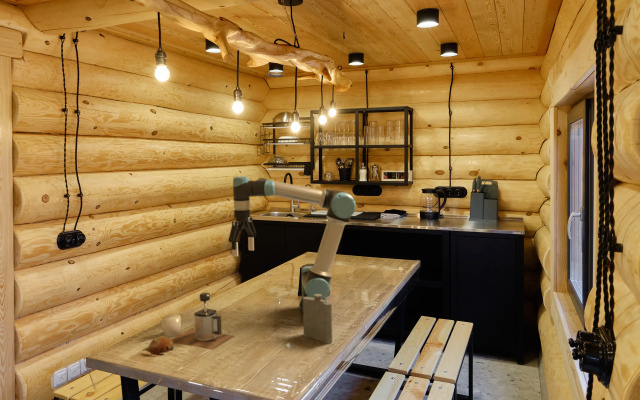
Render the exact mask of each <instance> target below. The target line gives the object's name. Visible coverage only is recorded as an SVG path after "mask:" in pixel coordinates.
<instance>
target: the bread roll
mask: <svg viewBox="0 0 640 400" xmlns="http://www.w3.org/2000/svg"><path fill="white" fill-rule="evenodd" d="M174 343H175V342H173V341H172V340H171V337H166V336H163V335H160V336H158V337H156V338H154V339H152V340H151V342H150V344H149V346H148V351H149V353H150V354H151V355H152V354H153V356H165V353H168V352H170V351H173V348H175V344H174Z"/></svg>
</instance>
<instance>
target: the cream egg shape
mask: <svg viewBox="0 0 640 400" xmlns="http://www.w3.org/2000/svg"><path fill="white" fill-rule="evenodd" d="M160 321H161V322H160V324H161V325H160V327H161V331H162V336H166V337H169V338H175V337H177V336H179V335H181V334H182V318H181V315H180V314H166V315H164V316H163V317H162V319H161V320H160Z"/></svg>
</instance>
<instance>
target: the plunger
mask: <svg viewBox="0 0 640 400" xmlns="http://www.w3.org/2000/svg"><path fill="white" fill-rule="evenodd" d="M210 300H211V295H210V293H209V292H201V293H200V294H199V301H201V302H203V309H204V313H207V309H208V308H207V302H208V301H210Z"/></svg>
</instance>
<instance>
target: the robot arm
mask: <svg viewBox="0 0 640 400" xmlns="http://www.w3.org/2000/svg"><path fill="white" fill-rule="evenodd" d="M232 193H233V194H232V195H233V197H232V198H233V209H234V210H233V217H234V218H235V219H236V220H235V221H233V220H232V221H231V228H230V232H229V235H228V236H229V237H228V240H227V241H228V242H229V243H231V252H232V253H231V254H232V257H239V245H238V244H239V243H238V240H239V236H240V234H241V232H242V231H243V230H245V232H246V234H247V235H248V238H247V239H248V240H247V241H248V245H247V247H248V251H253V252H254V251H255V240H254V239H255V238H256V237H257V231H256V228H255V225H254V222H253V217H251V210H250V209H251V202H250V199H251V197H272V196H273V197H277V198H283V199H288V200H292V201H298V202H302V203H307V204H312V205H317V206H319V207H320V208H322V209H326V210H327V212H326V218H327V222H326V226H325V228H324V232H323V235H322V237H321V238H322V239H321V241H320V243H319V244H320V245H319V247H318V250H317V254H316V257H315V261H314V263H313V265H308V266H307V265H306V266H303V267H302V268H301V272H300V273H301V297H300V301H299V305H298V310H299V312H301V313H302V314H303V297H312V298H315V297H314V295H315V294H322V297H321V298H322V299H323V300H325V301H327V299H326V298H327V297H328V296H329V294H330V290H331V288H330V287H331V286H330V284H331V281H332V279H333V278H332V277H333V274H332V272H331V271H332V268H333V265H334V261H335V258H336V254H337V251H338V249H339V244H340V242H341V239H342V236H343V232H344V228H345V226H346V225H348V224H350V220H351V217H352V215H354V214H355V212H356V209H357V206H356V205H357V203H356V200H355V199H354V197H353V195H351V194H350V193H348V192H345V191H343V190H333V189H325V188H324V189H321V190H320V189H317V188H311V187H307V186H302V185H297V184H292V183H287V182H281V181H278V180H277V181H276V180H273V179H267V178H265V177H259V178H258V179H256V180H250V177H249V176H235V177H233V178H232Z"/></svg>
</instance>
